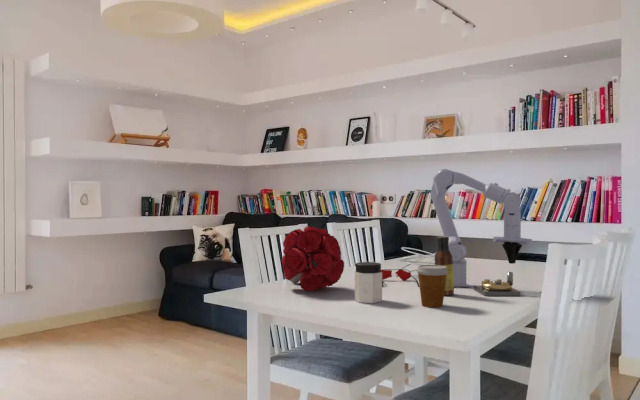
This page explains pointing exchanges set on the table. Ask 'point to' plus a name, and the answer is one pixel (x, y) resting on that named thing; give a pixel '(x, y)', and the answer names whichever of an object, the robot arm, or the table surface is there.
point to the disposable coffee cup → (432, 284)
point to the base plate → (497, 292)
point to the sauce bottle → (445, 263)
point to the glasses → (401, 273)
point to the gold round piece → (499, 283)
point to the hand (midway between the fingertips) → (512, 263)
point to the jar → (368, 282)
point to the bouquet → (312, 258)
